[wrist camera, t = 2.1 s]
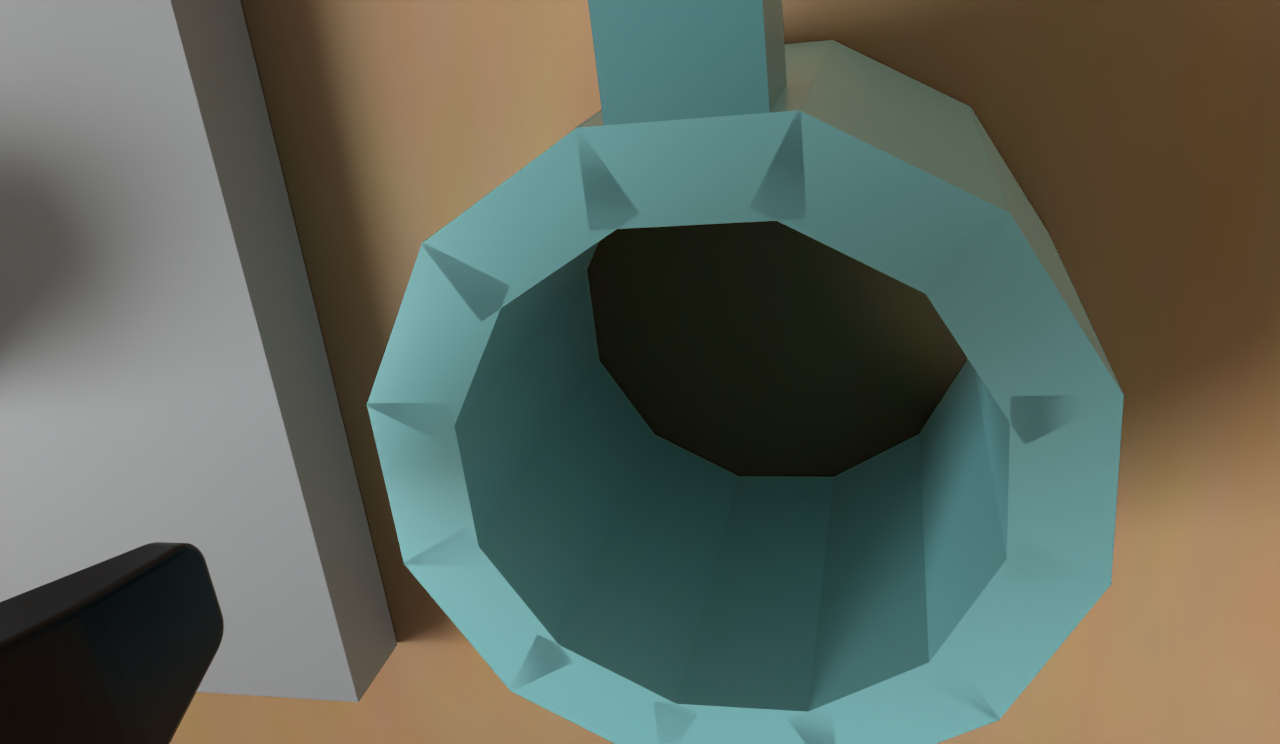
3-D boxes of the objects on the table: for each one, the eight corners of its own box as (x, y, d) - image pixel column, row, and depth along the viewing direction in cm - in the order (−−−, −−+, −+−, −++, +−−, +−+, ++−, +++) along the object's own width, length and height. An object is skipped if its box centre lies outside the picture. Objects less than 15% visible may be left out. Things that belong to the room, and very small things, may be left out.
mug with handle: (1037, 534, 15) (1096, 800, 11) (567, 525, 17) (447, 751, 12) (1060, -93, 12) (1158, -92, 7) (479, -25, 14) (274, 10, 9)
